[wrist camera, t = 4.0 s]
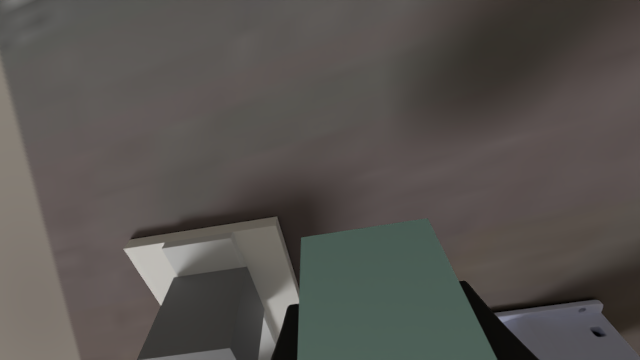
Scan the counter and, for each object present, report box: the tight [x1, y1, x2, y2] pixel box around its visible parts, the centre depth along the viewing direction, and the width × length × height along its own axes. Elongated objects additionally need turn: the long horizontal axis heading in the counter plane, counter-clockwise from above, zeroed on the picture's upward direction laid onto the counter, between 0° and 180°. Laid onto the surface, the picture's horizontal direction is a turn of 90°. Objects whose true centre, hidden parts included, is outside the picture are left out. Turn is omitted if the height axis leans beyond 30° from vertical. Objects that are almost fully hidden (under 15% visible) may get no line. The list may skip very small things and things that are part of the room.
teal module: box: [297, 218, 497, 360], centre depth 10 cm, size 4×4×6 cm
